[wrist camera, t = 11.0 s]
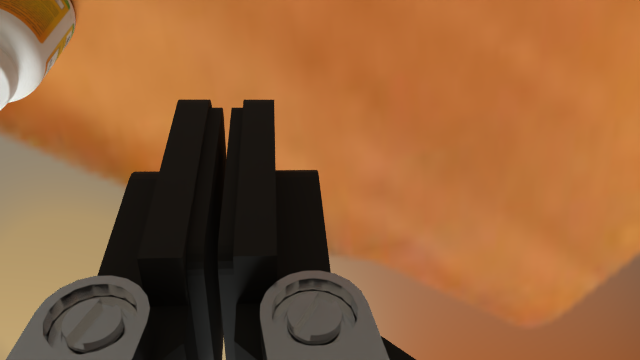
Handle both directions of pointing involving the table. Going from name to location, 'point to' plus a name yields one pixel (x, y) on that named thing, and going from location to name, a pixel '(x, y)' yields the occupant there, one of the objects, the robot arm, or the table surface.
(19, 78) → the supplement bottle
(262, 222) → the robot arm
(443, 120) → the table surface
